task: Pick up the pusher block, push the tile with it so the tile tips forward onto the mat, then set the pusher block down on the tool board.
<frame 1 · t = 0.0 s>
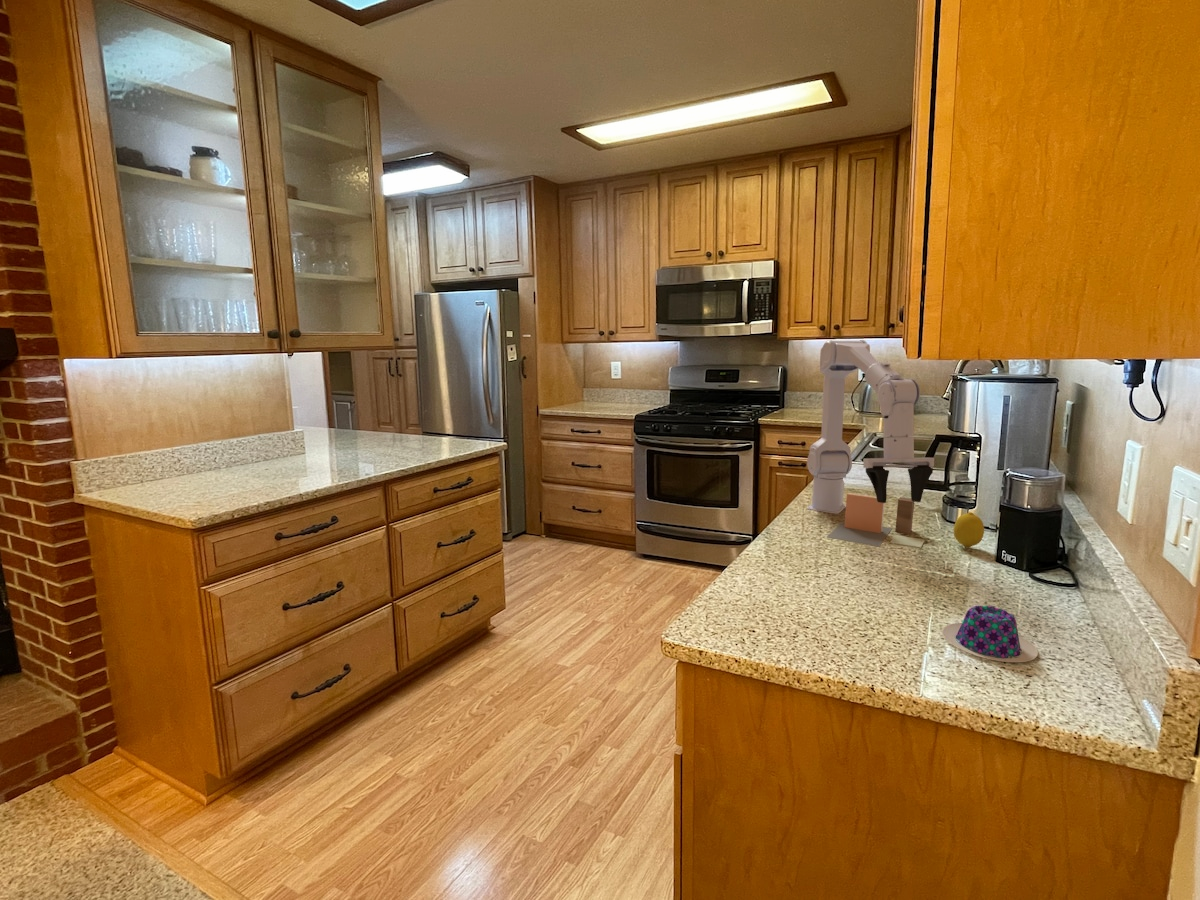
hand: (898, 502, 129), 11 cm above the worktop, tool pointing down, fingers open, 7 cm apart
mat: (860, 534, 142), on the worktop
tool board: (907, 543, 135), on the worktop
tile: (862, 529, 144), resting on mat
purple patterned hat: (987, 647, 91), on the worktop
pusher block: (903, 532, 143), on the worktop
lemon: (966, 549, 132), on the worktop
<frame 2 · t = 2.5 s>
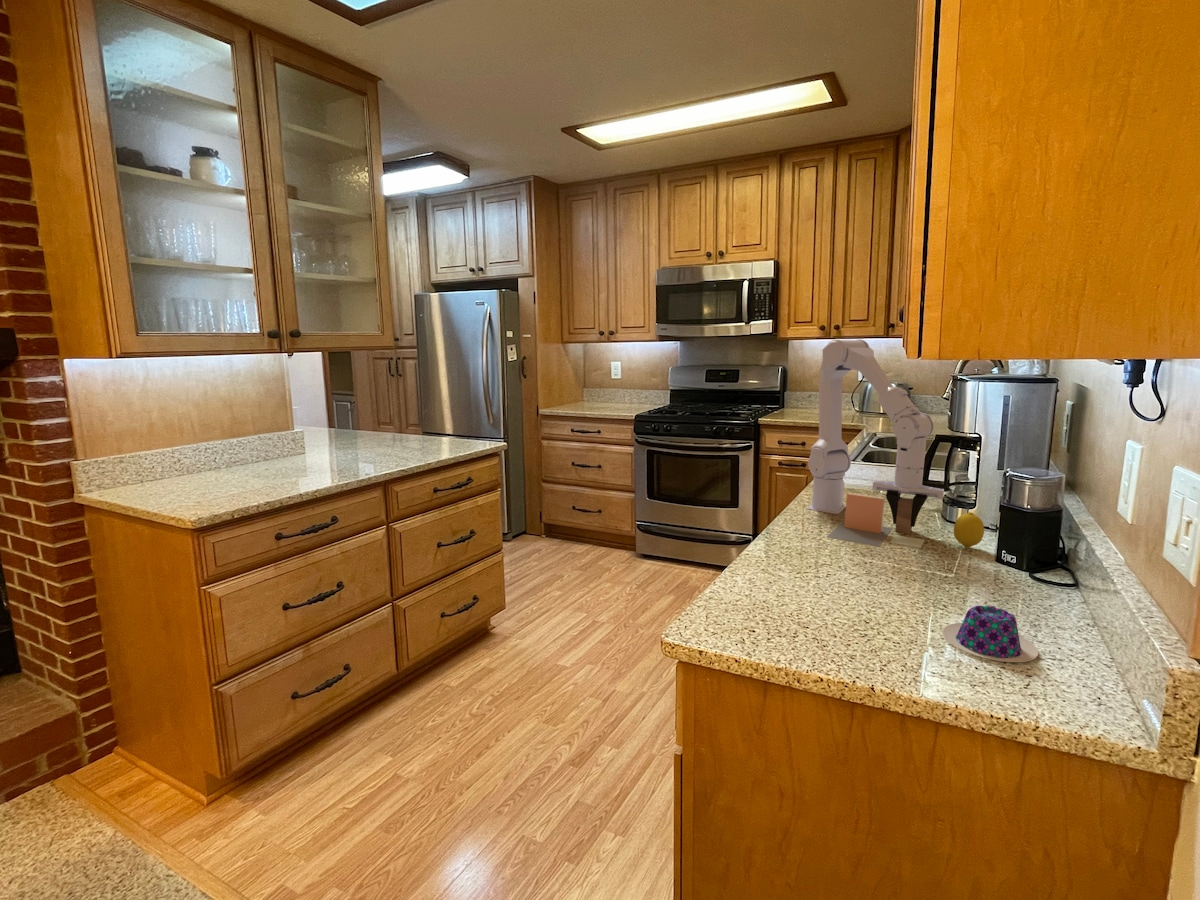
hand: (904, 524, 142), 2 cm above the worktop, tool pointing down, fingers closed on pusher block, 3 cm apart
pusher block: (903, 532, 143), on the worktop, touching gripper
everything else where it was.
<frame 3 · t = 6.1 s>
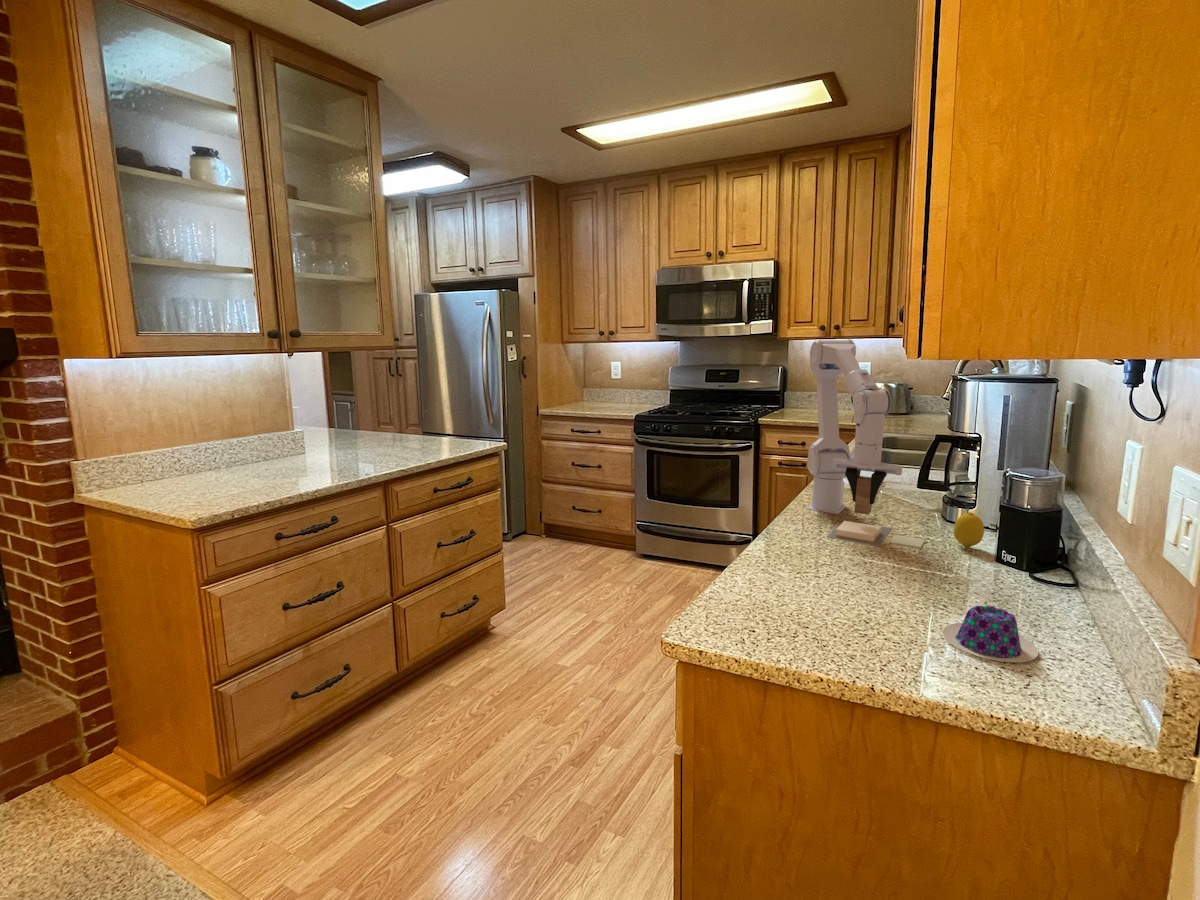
hand: (863, 502, 141), 7 cm above the worktop, tool pointing down, fingers closed on pusher block, 3 cm apart
tile: (862, 526, 143), point 1 cm above the worktop, tilted 90°, touching mat
pusher block: (862, 512, 141), point 5 cm above the worktop, touching gripper
everything else where it was.
when the fingers open (3 cm above the worktop, at t = 9.9 s): pusher block stays where it is, resting on tool board.
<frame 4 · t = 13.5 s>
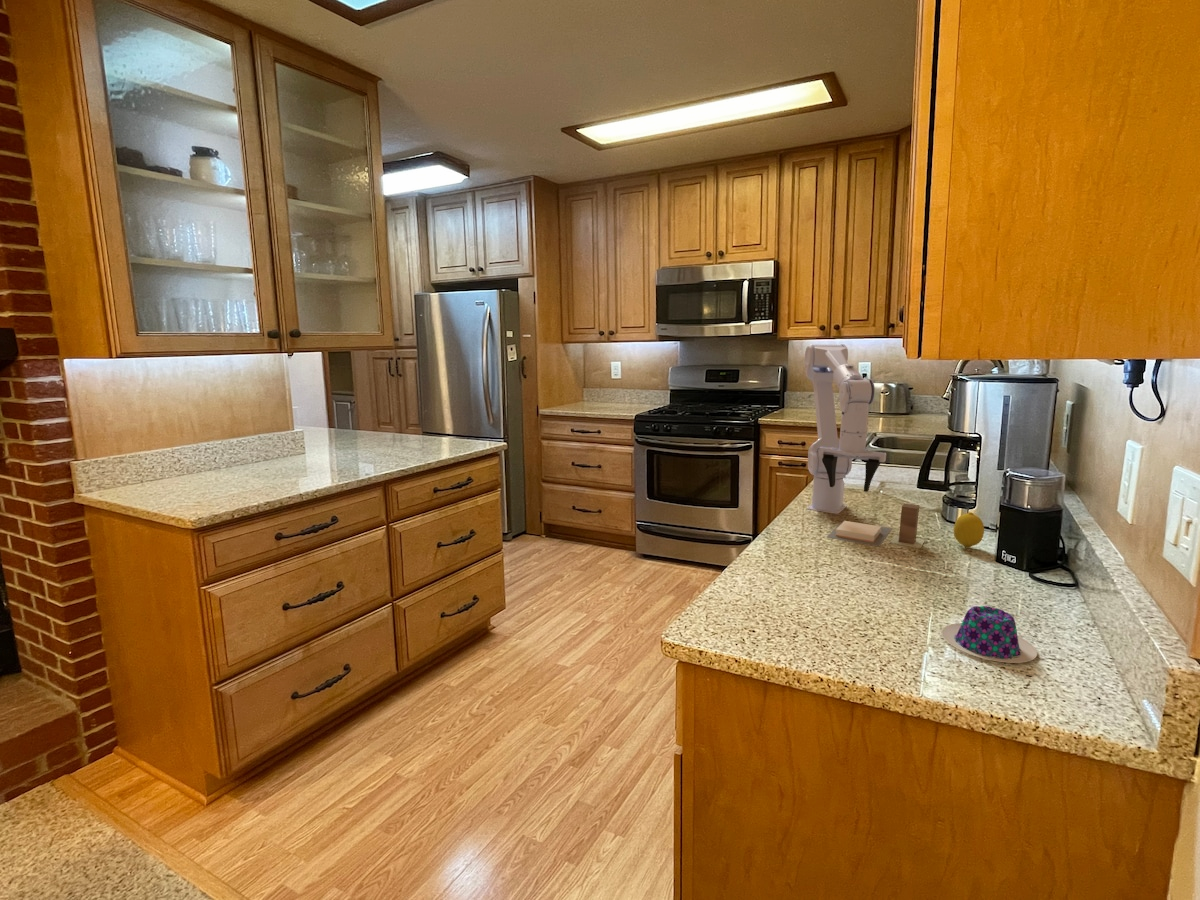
hand: (848, 488, 145), 9 cm above the worktop, tool pointing down, fingers open, 7 cm apart
pusher block: (907, 541, 135), point 1 cm above the worktop, touching tool board
everything else where it was.
at the end: tile tilted 90°; tile 0.3 cm from the target spot, point 1.2 cm above the worktop; pusher block 0.4 cm off-centre on the tool board, point 0.6 cm above the tool board's base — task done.
